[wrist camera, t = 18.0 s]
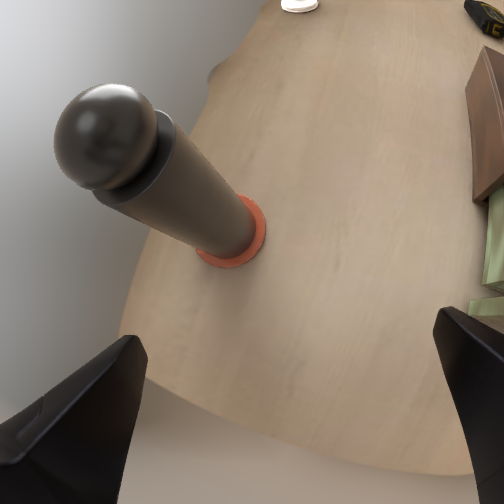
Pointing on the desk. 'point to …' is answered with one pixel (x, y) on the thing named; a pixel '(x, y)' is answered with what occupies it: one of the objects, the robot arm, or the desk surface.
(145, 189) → the pepper mill
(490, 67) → the cabinet
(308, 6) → the chess piece
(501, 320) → the drawer
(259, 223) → the coaster
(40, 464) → the robot arm
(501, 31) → the tape measure
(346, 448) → the desk surface
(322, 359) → the desk surface
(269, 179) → the desk surface
